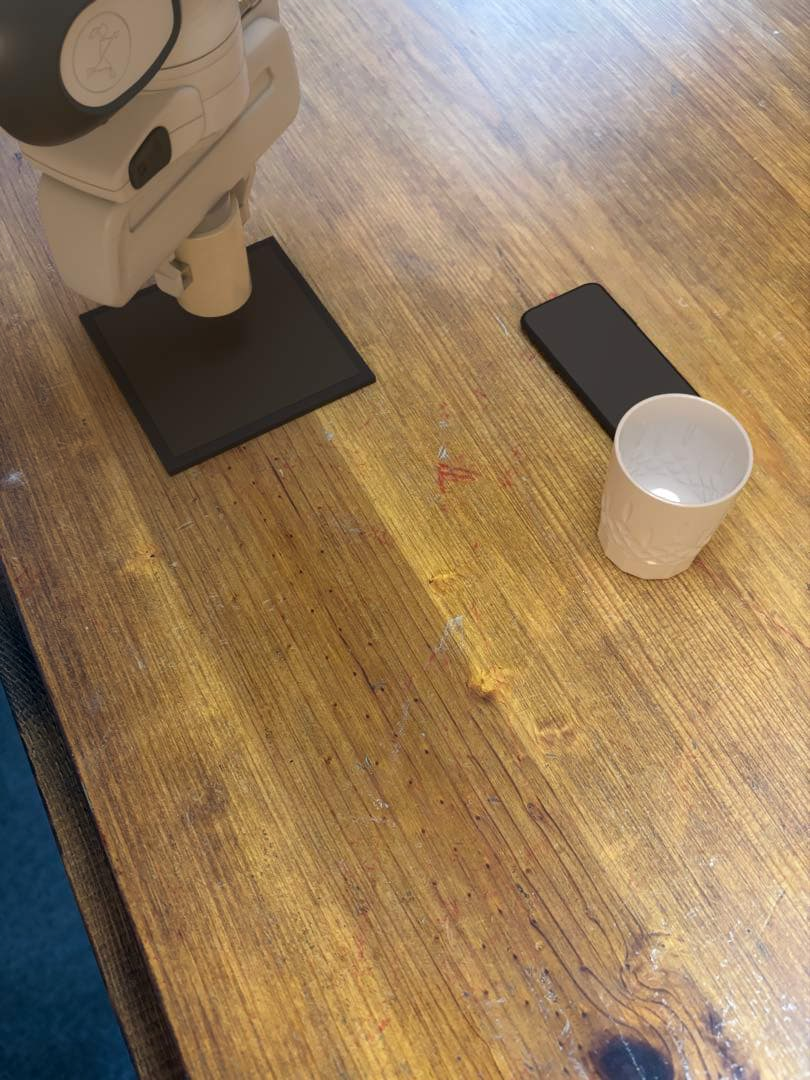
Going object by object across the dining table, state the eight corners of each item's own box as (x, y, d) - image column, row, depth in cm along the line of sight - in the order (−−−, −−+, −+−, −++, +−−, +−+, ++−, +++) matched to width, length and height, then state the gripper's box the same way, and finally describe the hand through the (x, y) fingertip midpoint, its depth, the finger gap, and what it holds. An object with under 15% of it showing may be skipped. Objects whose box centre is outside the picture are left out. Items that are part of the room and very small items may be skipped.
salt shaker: (194, 329, 70) (171, 235, 63) (162, 278, 72) (136, 182, 65) (265, 298, 71) (250, 204, 64) (231, 249, 73) (213, 152, 66)
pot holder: (170, 477, 71) (168, 471, 71) (80, 320, 78) (77, 314, 78) (376, 381, 76) (376, 375, 75) (273, 240, 82) (272, 234, 82)
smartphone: (638, 464, 71) (514, 314, 77) (635, 471, 72) (512, 322, 78) (724, 418, 73) (596, 276, 79) (720, 426, 74) (594, 284, 80)
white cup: (562, 529, 70) (586, 440, 61) (646, 464, 72) (679, 371, 63) (650, 612, 67) (688, 531, 58) (734, 542, 69) (782, 455, 60)
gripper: (224, -52, 62) (253, 142, 74) (-6, 158, 53) (68, 340, 65) (316, -19, 61) (330, 174, 73) (95, 202, 52) (152, 380, 64)
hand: (205, 254), depth 69 cm, fingers closed on salt shaker, 5 cm apart
